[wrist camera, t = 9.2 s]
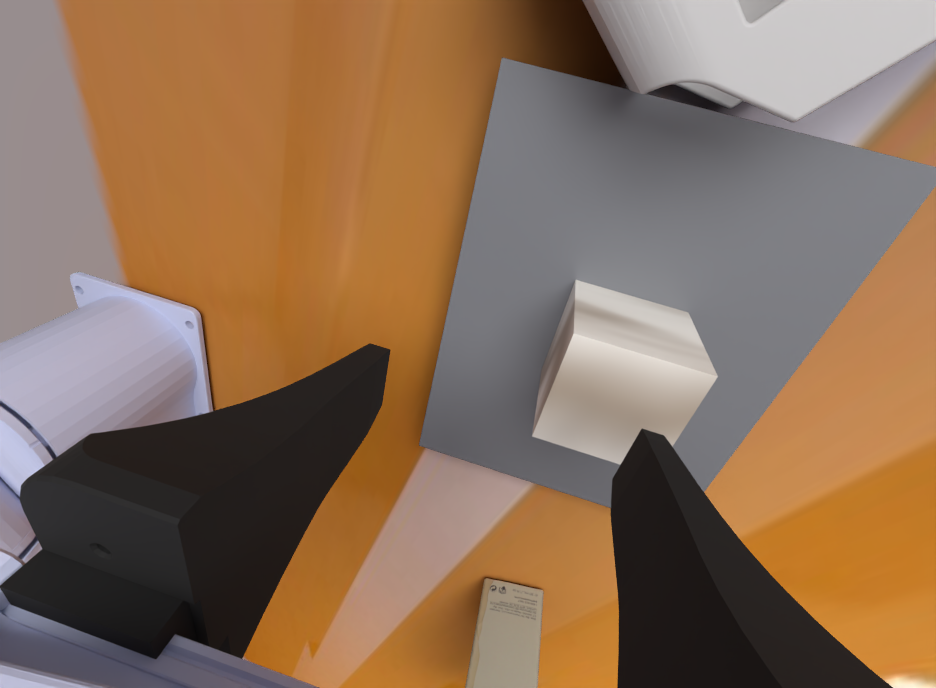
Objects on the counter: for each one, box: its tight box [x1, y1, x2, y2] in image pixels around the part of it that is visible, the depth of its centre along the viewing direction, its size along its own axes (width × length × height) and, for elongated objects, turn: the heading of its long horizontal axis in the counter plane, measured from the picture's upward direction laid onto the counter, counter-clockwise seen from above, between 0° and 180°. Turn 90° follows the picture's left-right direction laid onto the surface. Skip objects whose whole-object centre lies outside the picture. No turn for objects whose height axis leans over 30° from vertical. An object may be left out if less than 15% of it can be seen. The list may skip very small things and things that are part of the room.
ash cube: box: [532, 280, 718, 465], centre depth 17 cm, size 4×4×4 cm
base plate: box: [419, 58, 936, 508], centre depth 20 cm, size 18×14×2 cm
